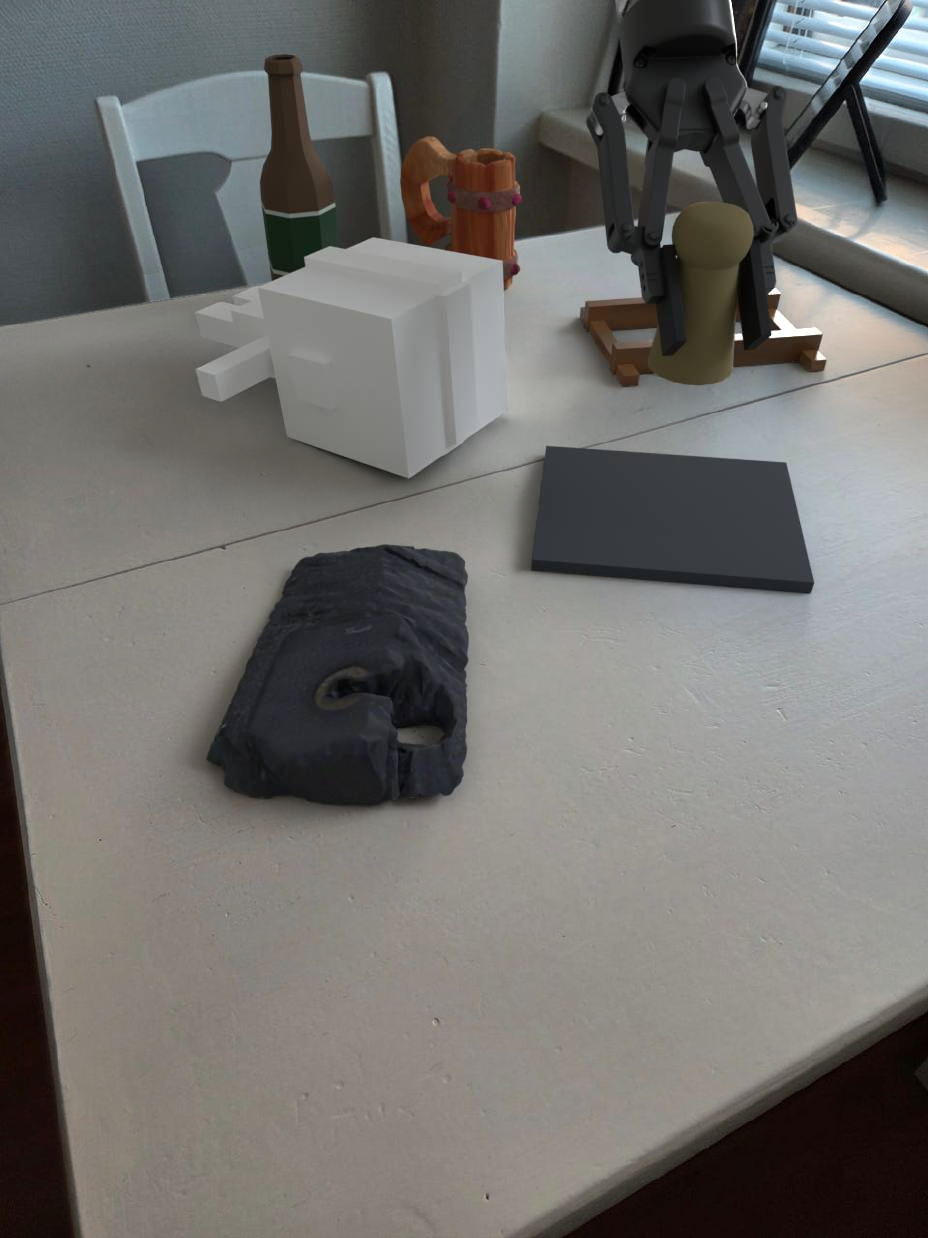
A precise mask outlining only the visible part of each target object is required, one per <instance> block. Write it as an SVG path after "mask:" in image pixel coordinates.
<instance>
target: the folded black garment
mask: <svg viewBox="0 0 928 1238" xmlns="http://www.w3.org/2000/svg"><path fill="white" fill-rule="evenodd" d="M468 579H469V574H468V572H467V570H466V560H465V559H464V558H463V557H462V555H460V554H459V553H457V552H454V551H451V550H450V551H449V550H438V549H431V548H427V547H424V548H415V546H413V545H401V544H386V543H384V544H379V545H373V546H365V547H356V548H352V549H350V550H340V551H331V552H318V553H316V554H313V556H305V557H302V558H301V559H300V560H298V562H296V564H295V565H294V568H293V569H292V570H291V573H290V576H289V577H288V578H287V579H286V581H285V583H284V585H283V589H282V592H281V594H282V596H281V598H280V599H279V600H278V601H277V602H276V603H275V605H274V609H272V611H271V612H270V614H269V616H268V622H267V623H266V624H265V626H264V628H263V629H262V632H261V633H260V635H259V636H258V638H257V640H256V643H255V645H254V647H253V649H252V652H251V656H250V657H249V658H248V659H247V662H246V665H245V668H244V673H243V674H242V676H241V678H240V680H239V681H238V684H237V686H236V689H235V692H234V693H233V696H232V698H231V701H230V704H229V705H228V707H227V710H226V712H225V714H224V716H223V719H222V721H221V724H220V725H219V727H218V729H217V731H216V733H215V734H214V737H213V740H212V742H211V744H210V746H209V749H208V752H207V754H206V758H205V759H206V761H207V762H209V763H211V764H213V765H215V766H217V767H221V768H222V770H223V771H224V778H223V784H224V786H225V787H226V788H227V789H229V790H231V791H233V792H236V793H244V794H245V795H246V796H248V797H250V798H263V799H264V800H269V799H272V798H273V797H276V796H277V797H278V796H279V797H280V796H281V797H288V796H289V797H293V798H299V799H303V800H305V801H308V802H312V803H319V804H323V805H334V806H335V805H336V806H368V807H369V806H375V805H376V806H377V805H380V804H382V803H383V802H384V801H388V800H393V801H397V799H398V798H399V796H400V797H401V798H403V799H416V800H417V799H420V798H421V796H422V795H426V796H431V797H432V796H433V797H434V796H439V795H442V796H444V797H448V796H450V795H452V793H453V792H454V791H455V789H456V788H457V787H459V786H460V784H461V783H462V782H463V777H464V776H465V772H464V769H463V765H464V763H465V761H466V758H467V753H468V746H467V742H466V739H467V732H466V731H467V724H468V696H467V692H468V690H467V687H468V684H467V682H466V680H467V671H466V670H465V669H466V667H467V665H468V663H469V661H470V660H469V659H470V658H469V657H468V651H469V650H468V649H469V643H470V636H469V631H468V626H467V624H466V622H467V617H468V616H467V613H466V612H467V609H466V607H467V598H466V593H465V592H466V586H467V585H468ZM417 725H437V726H438V727H439V728H440V730H441V731H442V733H443V735H442V736H441V737H440V738H439V740H438V741H437V742H436V743H434V744H430V745H426V744H423V743H411V742H401V741H399V740H398V736H399V735H398V734H399V733H398V730H397V729H396V728H400V727H403V726H417Z"/></svg>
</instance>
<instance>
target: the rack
mask: <svg viewBox="0 0 928 1238" xmlns="http://www.w3.org/2000/svg"><path fill="white" fill-rule="evenodd" d="M781 296H782V294H781V292H780V291H779V290H778V289H777V288H775V289H774V290H773V291H771V292H770V293H769V294H768V295H767V302H768V309H769V317H770V324H771V332H772V335H771V336H770V337H769V338H768V339H767V340H765V341H764V342H763V343H762V344H761V345H759V346H758V347H757V348H756V349H755V350H744V344H743V336H742V332H741V333H735V339H734V356H733V368H734V367H735V368H736V367H751V366H760V365H761V366H762V365H763V366H764V365H773V364H786V363H800V364H801V365H802V366H803V367H804V368H805V369H806V370H807V371H808V372H809V373H813V372H823V371H825V368H826V365H827V361H828V360H827V358H826V357H825V356H824V355H823V354H822V353H821V352H820V351H819V350H820V346H821V344H822V343H821V342H822V339H823V335H824V334H823V333H822V332H821V330H819V329H818V328H817V327H809V328H796V327H795V326H794V325H793V324H792V323H791V322H789V320H788V319H787V318H786V317H784V315H783V314H781V312H780V311H779V310H778V308H779V304H780V299H781ZM584 303H585V304H584V306H581V307H580V310H579V319H580V321H581V322H582V323H583V324H582V327H583V329H584V330H585V332H586V333H589V335H590V336H591V338H592V340H593V341H594V343H595V345H596V347H597V348H598V349H599V351H600V353H601V354H602V356H603V357H604V359H605V361H606V362H607V364H608V366H609V371H610V373H611V374H612V376H613V377H616V378H617V381H618V382H619V384H620V386H621V387H623V388H626V387H637V386H639V383H640V376H641V375H646V374H647V375H648V374H654V373H653V372H652V371H651V369H650V368H649V367H648V357H649V354H650V350H651V347H652V343H653V340H654V339H646V340H645V339H644V340H632V341H620V342H619V341H618V339H617V338H616V337H615V335H614V333H613V332H612V331H625V330H640V329H652V328H657V326H658V317H657V309H656V304H648V305H646V304H645V302H644V301H643V299H642V296H641V297H628V298H627V297H625V298H611V299H598V300H596V299H595V300H586V301H585V302H584ZM737 322H741V321H740V313H739V306H738V298H737V307H736V323H737Z"/></svg>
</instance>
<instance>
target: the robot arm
mask: <svg viewBox="0 0 928 1238" xmlns="http://www.w3.org/2000/svg"><path fill="white" fill-rule="evenodd" d="M614 2H615V11H616V19H617V23H618V25H619V28H618V29H619V30H618V37H619V45H620V53H621V59H622V69H623V76H624V79H625V85H624V88H623V90H622V91H621V92H619V93H616V94H613V95H611V94H609V93H608V92H605V91H602V92H598V93H596V95H595V97H594V100H593V102H592V104H591V106H590V109H589V112H588V114H587V116H586V119H585V124H586V127H587V129H588V131H589V133H590V135H591V138H592V140H593V142H594V144H595V146H596V149H597V159H598V169H599V178H600V179H599V180H600V190H601V198H602V199H601V200H602V209H603V219H604V230H605V238H606V239H605V240H606V246H607V249H608V250H609V252H611V253H612V254H620V253H626V254H629V255H630V261H631V263H632V264H633V265H634V266H636V267H637V269H638V277H639V283H640V284H639V285H640V293H641V297H642V299H643V301H644V302H645V304H646V305H648V304H656V309H657V317H658V325H659V333H660V341H661V349H662V356H672V355H674V354H675V353H676V352H677V351H678V350H679V349H680V348H681V347H682V346H683V345H684V344H685V343H686V342H687V338H686V330H685V323H684V315H683V307H682V299H681V291H680V283H679V275H678V267H677V259H676V258H677V256H676V252H675V244H672V243H671V244H663V245H662V246H661V242H662V241H663V236H664V227H665V221H666V213H667V206H668V198H669V192H670V191H669V190H670V183H671V177H672V170H673V161H674V156H675V155H674V154H675V153H677V152H681V151H684V150H687V151H691V152H696V153H697V152H698V153H699V156H700V158H701V160H702V163H703V165H704V166H705V168H709V170H710V172H711V175H712V178H713V179H714V181H715V185H716V187H717V189H718V192H719V195H720V197H721V200H722V202H723V203H729V204H733V205H736V206H738V207H741V208H742V209H743V210H745V211H746V212H747V213H748V214H749V215H750V218H751V220H752V223H753V229H754V235H753V240H752V244H751V246H750V248H749V250H748V253H747V254H746V256H745V257H744V258H743V259H742V260H741V261H740V262H739V274H738V290H737V298H738V306H739V313H740V321H739V322H740V328H741V333H742V336H743V344H744V350H755V349H756V348H757V347H758V346H759V345H761V344H762V343H763V342H764V341H765V340H767V339H768V338H769V337H770V336H771V335H772V332H771V324H770V317H769V309H768V302H767V295H768V294H769V293H770V292H771V291H773V290H774V289H776V284H777V274H776V268H775V260H774V252H773V245H777V244H779V243H780V242H781V241H782V240H783V239H784V238H785V237H786V236H787V235H788V234H789V233H790V232H791V231H792V230H793V229H794V228H795V226H797V223H798V214H797V206H796V201H795V200H796V199H795V193H794V187H793V182H792V175H791V168H790V161H789V155H788V149H787V142H786V137H785V130H784V123H783V117H784V113H785V109H786V108H785V107H786V102H787V91H786V89H785V88H784V87H782V86H781V85H776V86H773V87H772V88H770V90H769V92H766V91H765V92H764V91H762V90H758V89H755V88H751V87H748V83H747V79H746V78H745V77H744V75H743V74H742V72H741V70H740V68H739V66H738V58H737V57H738V53H737V52H738V46H737V45H738V44H737V37H736V36H737V35H736V29H735V21H734V14H733V13H734V12H733V7H732V0H614ZM738 110H741V111H742V112H743V113H744V115H745V122H746V123H745V127H746V129H747V130H751V133H750V148H751V153H752V154H751V155H752V160H753V167H754V176H755V179H754V177H753V174H752V172H751V169H750V167H749V163H748V162H747V160H746V157H745V156H746V155H745V154H744V152H743V149H742V147H741V144H740V135H741V134H740V129H739V127H738V125H737V122H736V120H735V115H736V114H737V112H738ZM627 116H628V117H629V119H630V120H631V121H632V122H633V123H634V124H635V126H636V127H637V128H638V129H639V130H640V131H641V132H642V133H643V135H645V137H646V138H647V139H646V140H647V141H646V149H645V156H644V166H645V168H644V173H643V174H644V175H643V182H642V189H641V197H640V203H639V205H640V206H639V211H638V217H637V218H638V219H637V225H635V217H634V216H635V215H634V208H633V199H632V198H633V197H632V188H631V187H632V186H631V179H630V169H629V159H628V151H627V139H626V131H625V126H624V125H625V124H626V121H627ZM755 181H756V182H755Z"/></svg>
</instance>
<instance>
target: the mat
mask: <svg viewBox="0 0 928 1238" xmlns="http://www.w3.org/2000/svg"><path fill="white" fill-rule="evenodd" d="M789 472H790V471H789V468H788V463H787V462H786V461H770V460H769V461H768V460H755V459H743V458H727V457H713V456H699V455H696V456H695V455H685V454H672V453H670V454H669V453H657V452H656V453H655V452H641V451H627V450H616V449H615V450H614V449H598V448H586V447H585V448H582V447H572V446H571V447H570V446H568V447H567V446H558V445H557V446H556V445H546V446H545V451H544V460H543V467H542V476H541V483H540V491H539V500H538V508H537V515H536V522H535V532H534V540H533V547H532V554H531V555H532V556H531V565H530V566H531V567H530V570H531V571H538V572H549V573H562V574H572V575H586V576H587V575H588V576H598V577H599V576H600V577H611V578H623V579H636V580H646V581H647V580H648V581H659V582H671V583H672V582H673V583H682V584H683V583H684V584H695V585H706V586H707V585H708V586H719V587H732V588H746V589H755V590H770V591H780V592H781V591H782V592H793V593H803V594H804V593H805V594H811V593H812V591H813V588H814V585H815V579H814V574H813V571H812V566H811V563H810V559H809V554H808V550H807V544H806V542H805V537H804V532H803V528H802V524H801V520H800V515H799V510H798V506H797V502H796V498H795V494H794V490H793V485H792V480H791V477H790V473H789Z"/></svg>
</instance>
